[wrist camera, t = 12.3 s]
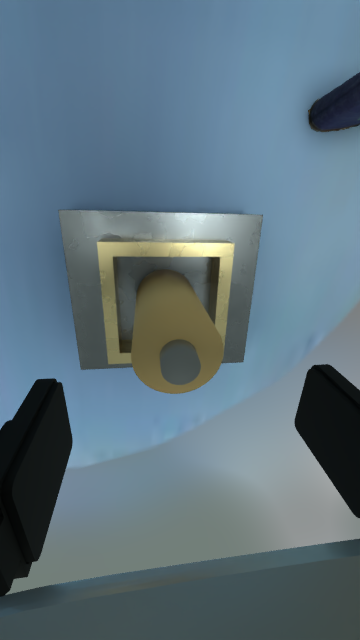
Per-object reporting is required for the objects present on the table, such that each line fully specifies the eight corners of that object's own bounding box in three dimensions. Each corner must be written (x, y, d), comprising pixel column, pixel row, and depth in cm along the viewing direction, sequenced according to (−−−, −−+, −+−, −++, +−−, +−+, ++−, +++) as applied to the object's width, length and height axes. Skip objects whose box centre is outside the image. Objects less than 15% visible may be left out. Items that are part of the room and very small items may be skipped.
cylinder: (135, 269, 22) (127, 323, 12) (194, 269, 23) (235, 320, 12) (137, 323, 24) (131, 411, 14) (191, 322, 25) (225, 405, 14)
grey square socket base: (71, 209, 23) (47, 209, 17) (245, 214, 25) (277, 215, 19) (88, 349, 29) (74, 385, 23) (231, 343, 31) (252, 376, 25)
